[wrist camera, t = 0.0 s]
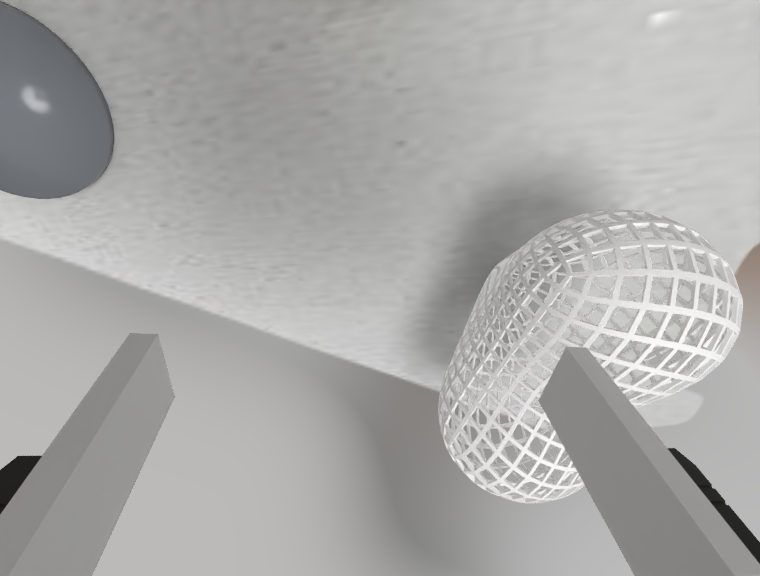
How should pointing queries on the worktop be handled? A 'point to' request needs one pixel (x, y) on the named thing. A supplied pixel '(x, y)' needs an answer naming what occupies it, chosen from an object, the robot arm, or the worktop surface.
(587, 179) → the worktop surface
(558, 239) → the heart
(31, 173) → the plate
